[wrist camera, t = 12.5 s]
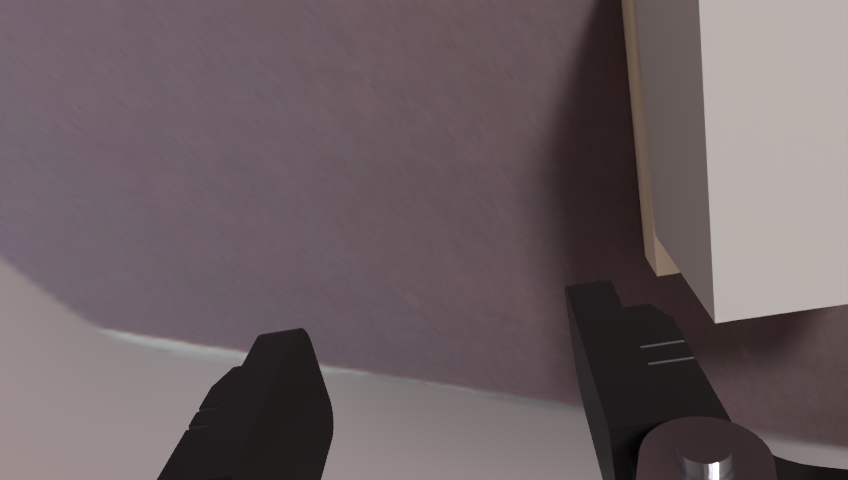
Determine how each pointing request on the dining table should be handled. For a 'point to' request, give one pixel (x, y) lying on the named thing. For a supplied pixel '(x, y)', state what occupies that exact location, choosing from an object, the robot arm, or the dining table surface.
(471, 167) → the dining table surface
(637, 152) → the board
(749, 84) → the cover
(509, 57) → the dining table surface
